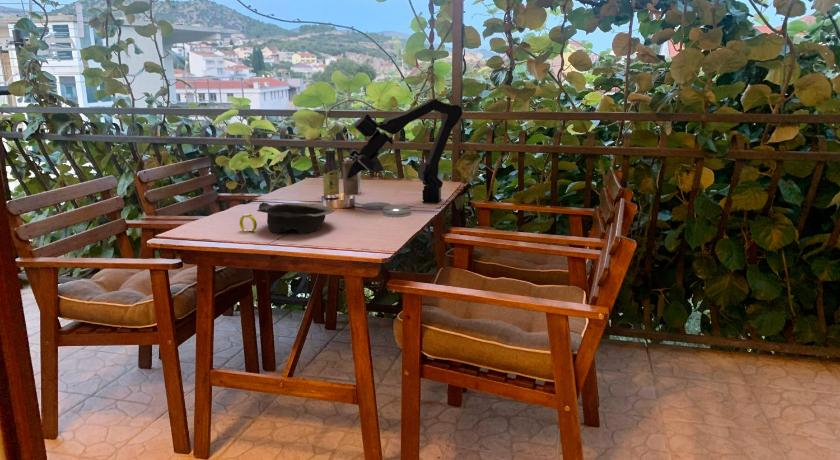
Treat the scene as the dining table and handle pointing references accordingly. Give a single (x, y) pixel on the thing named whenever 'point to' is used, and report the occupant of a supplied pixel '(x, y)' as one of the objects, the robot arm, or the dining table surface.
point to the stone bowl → (294, 216)
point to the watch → (250, 218)
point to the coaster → (375, 206)
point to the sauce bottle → (330, 174)
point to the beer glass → (358, 180)
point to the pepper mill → (352, 183)
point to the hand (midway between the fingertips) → (346, 176)
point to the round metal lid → (396, 210)
